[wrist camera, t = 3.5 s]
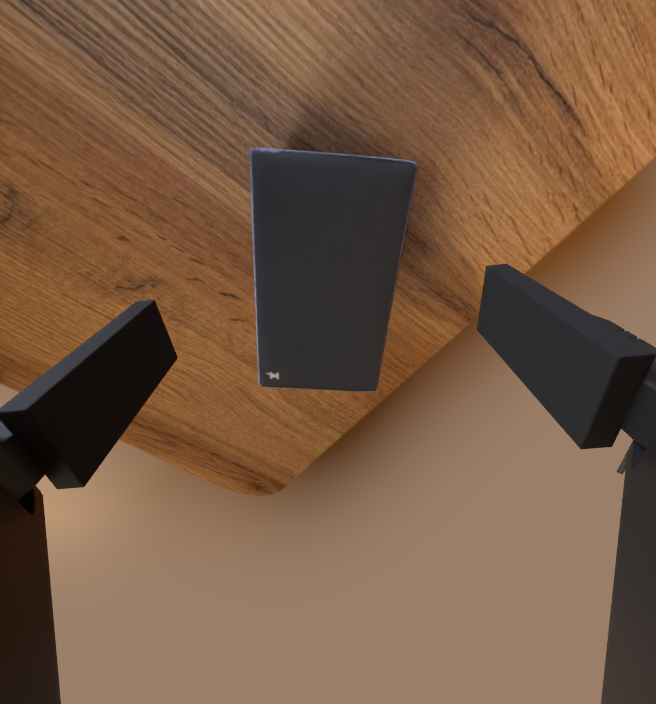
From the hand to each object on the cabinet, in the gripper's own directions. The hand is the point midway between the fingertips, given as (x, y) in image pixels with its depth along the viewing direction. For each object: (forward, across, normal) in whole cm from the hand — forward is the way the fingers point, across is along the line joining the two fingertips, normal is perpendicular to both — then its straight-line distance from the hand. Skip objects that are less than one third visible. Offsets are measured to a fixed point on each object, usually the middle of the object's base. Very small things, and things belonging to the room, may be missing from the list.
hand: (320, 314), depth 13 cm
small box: (+12, 0, 0) cm, 12 cm away
